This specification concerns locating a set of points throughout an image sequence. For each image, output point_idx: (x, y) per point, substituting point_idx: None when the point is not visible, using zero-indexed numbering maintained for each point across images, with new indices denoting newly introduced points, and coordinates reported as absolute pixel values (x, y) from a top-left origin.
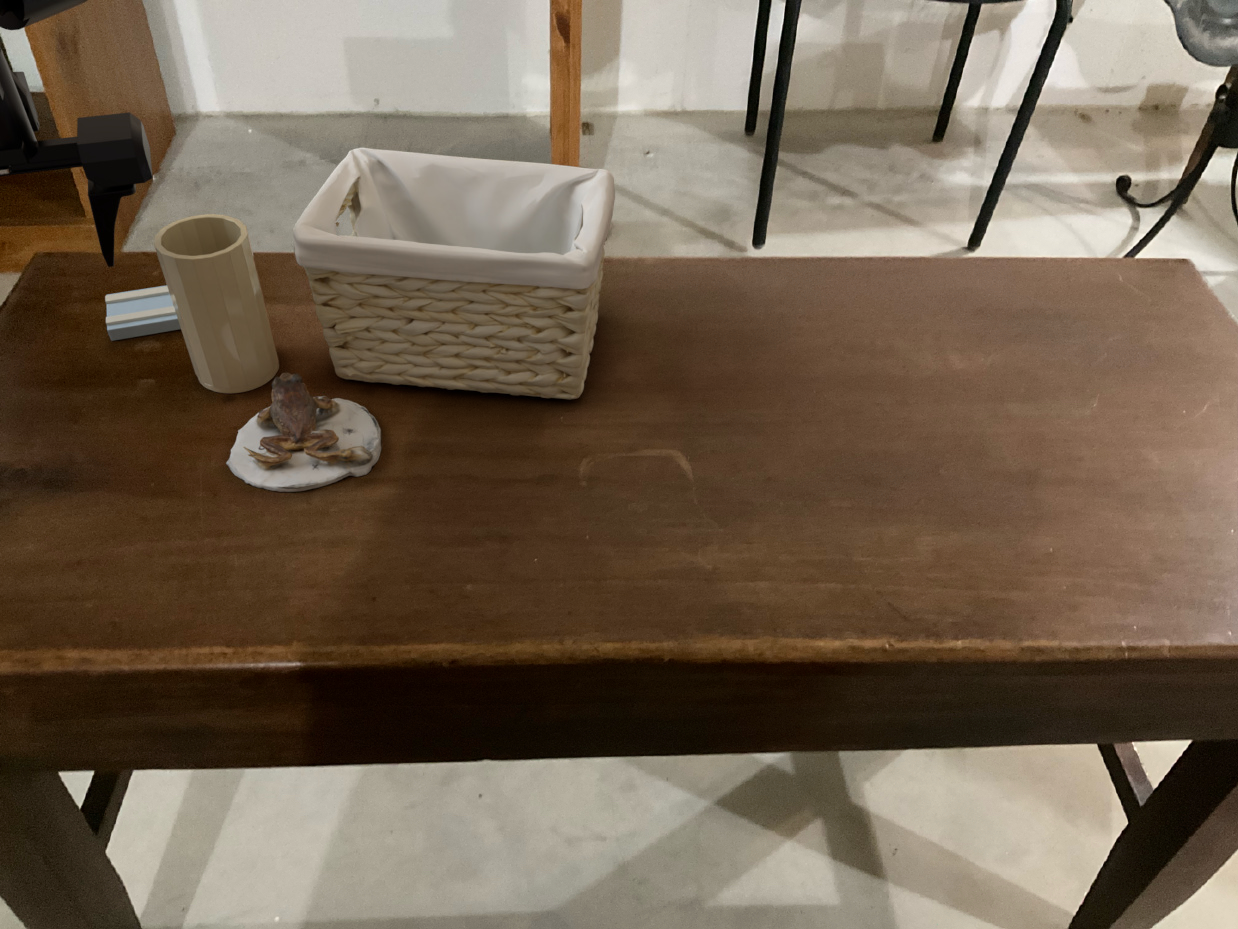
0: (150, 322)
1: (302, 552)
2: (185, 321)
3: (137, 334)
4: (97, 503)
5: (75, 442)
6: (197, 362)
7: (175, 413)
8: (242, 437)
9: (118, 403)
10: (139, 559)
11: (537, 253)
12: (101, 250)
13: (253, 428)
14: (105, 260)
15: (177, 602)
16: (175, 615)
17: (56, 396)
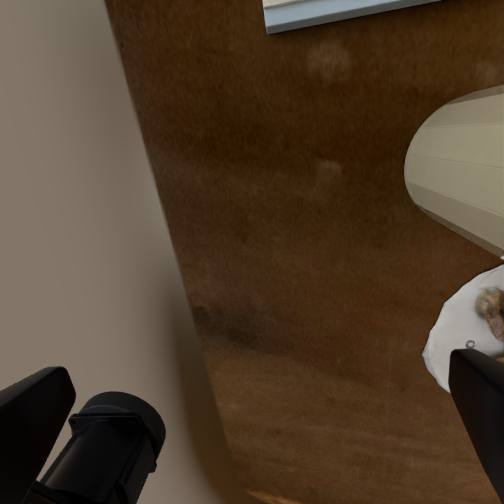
0: (343, 10)
1: (473, 470)
2: (483, 241)
3: (312, 24)
4: (285, 372)
5: (249, 277)
6: (433, 213)
7: (367, 248)
8: (449, 320)
9: (292, 211)
10: (328, 441)
11: None
12: (497, 493)
13: (466, 308)
14: (466, 428)
15: (359, 485)
16: (357, 494)
17: (209, 179)
